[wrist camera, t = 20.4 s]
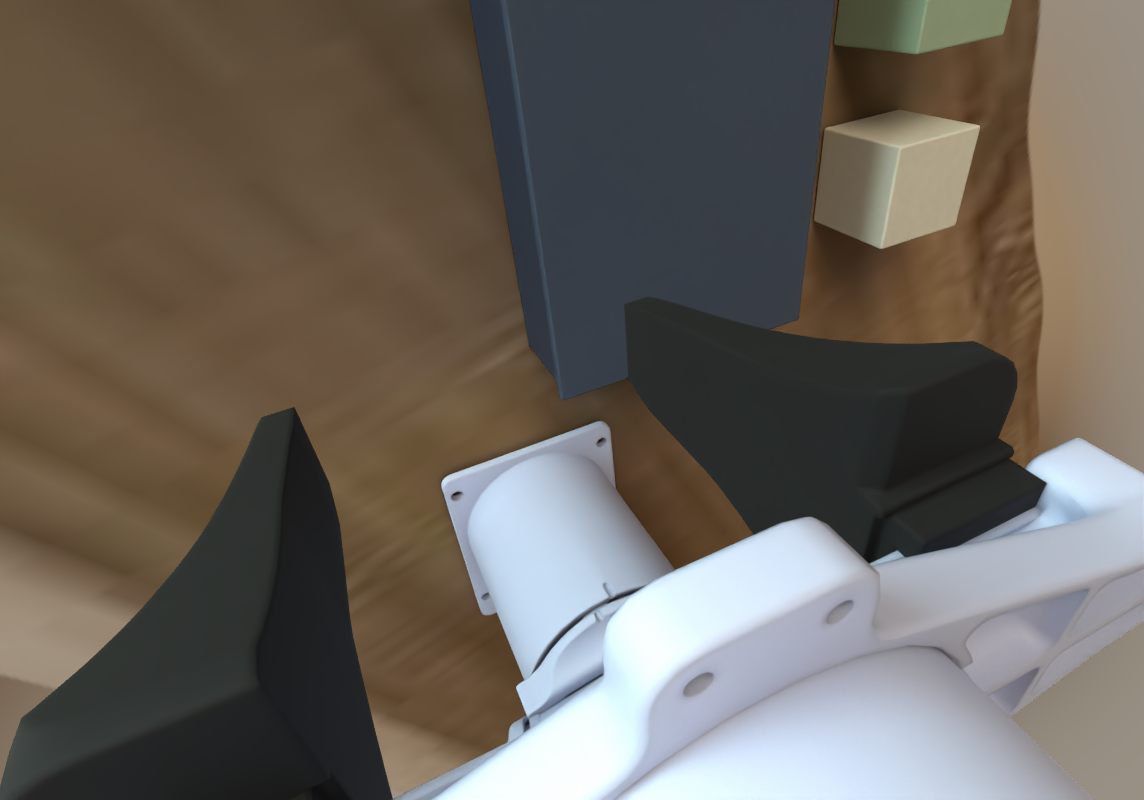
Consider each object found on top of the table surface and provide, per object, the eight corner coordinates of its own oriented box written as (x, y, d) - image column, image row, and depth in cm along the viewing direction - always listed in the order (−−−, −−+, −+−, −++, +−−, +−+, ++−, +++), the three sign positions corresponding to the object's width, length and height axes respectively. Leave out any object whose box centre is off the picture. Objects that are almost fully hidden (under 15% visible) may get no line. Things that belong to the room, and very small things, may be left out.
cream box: (882, 200, 30) (956, 226, 27) (812, 221, 29) (881, 250, 26) (898, 108, 27) (982, 125, 24) (823, 127, 26) (900, 147, 23)
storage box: (739, 283, 29) (798, 319, 26) (524, 351, 26) (563, 401, 23) (764, -214, 19) (864, -251, 16) (428, -190, 16) (472, -229, 13)
